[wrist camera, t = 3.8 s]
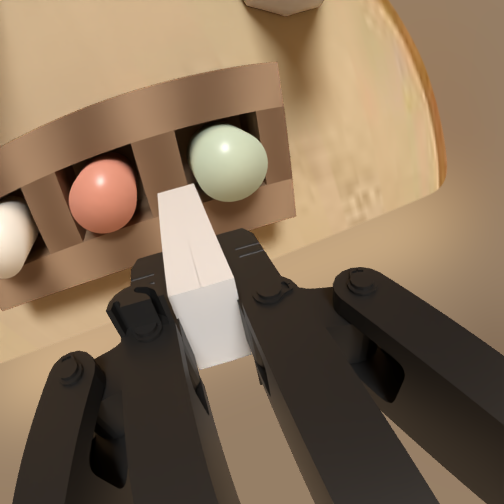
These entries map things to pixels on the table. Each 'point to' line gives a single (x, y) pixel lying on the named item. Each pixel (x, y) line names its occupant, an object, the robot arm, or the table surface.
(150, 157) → the console
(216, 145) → the button sage
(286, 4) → the flask
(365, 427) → the robot arm
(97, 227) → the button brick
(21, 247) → the button ivory
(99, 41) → the table surface
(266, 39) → the table surface
